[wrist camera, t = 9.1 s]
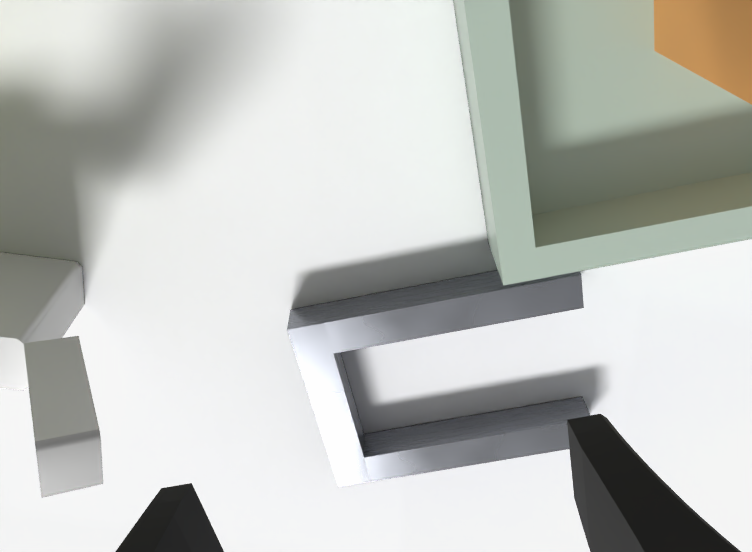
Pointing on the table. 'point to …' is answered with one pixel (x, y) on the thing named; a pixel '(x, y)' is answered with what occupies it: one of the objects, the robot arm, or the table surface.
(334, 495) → the table surface
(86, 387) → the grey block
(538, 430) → the frame
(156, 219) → the table surface
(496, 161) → the tray
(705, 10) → the pin
